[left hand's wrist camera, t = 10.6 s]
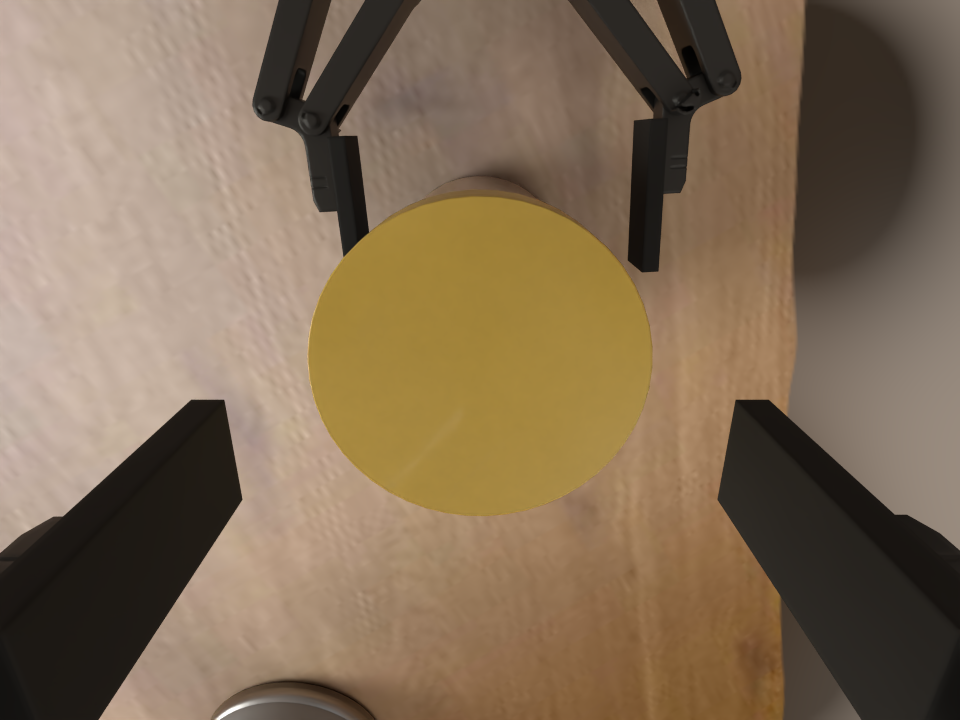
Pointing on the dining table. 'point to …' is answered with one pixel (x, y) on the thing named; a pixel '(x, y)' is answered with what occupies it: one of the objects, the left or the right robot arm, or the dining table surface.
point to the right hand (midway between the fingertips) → (501, 273)
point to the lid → (479, 354)
